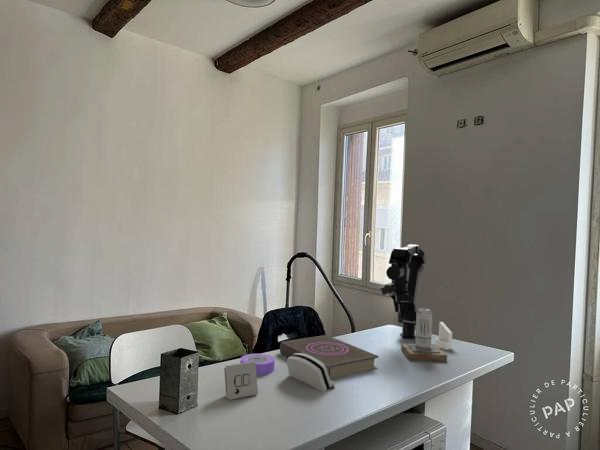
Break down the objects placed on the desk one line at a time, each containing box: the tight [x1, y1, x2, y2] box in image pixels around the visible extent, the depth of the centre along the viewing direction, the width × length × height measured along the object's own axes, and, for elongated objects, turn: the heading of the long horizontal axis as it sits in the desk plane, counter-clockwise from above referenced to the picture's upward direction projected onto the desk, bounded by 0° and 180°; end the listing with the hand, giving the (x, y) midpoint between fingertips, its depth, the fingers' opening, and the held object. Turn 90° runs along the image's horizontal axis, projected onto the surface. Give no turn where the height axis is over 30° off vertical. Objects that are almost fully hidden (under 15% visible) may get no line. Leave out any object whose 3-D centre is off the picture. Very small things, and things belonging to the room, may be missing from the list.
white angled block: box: [434, 321, 453, 351], centre depth 181 cm, size 4×10×9 cm, turn 25°
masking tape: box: [239, 353, 276, 376], centre depth 147 cm, size 12×12×4 cm
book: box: [279, 334, 379, 380], centre depth 158 cm, size 30×22×5 cm
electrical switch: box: [224, 362, 259, 401], centre depth 125 cm, size 9×5×9 cm, turn 121°
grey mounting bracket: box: [286, 353, 336, 392], centre depth 136 cm, size 17×5×10 cm, turn 42°
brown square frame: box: [400, 342, 448, 363], centre depth 168 cm, size 14×14×3 cm
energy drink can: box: [414, 307, 433, 349], centre depth 169 cm, size 6×6×15 cm
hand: (398, 314), depth 181 cm, fingers open, 9 cm apart
